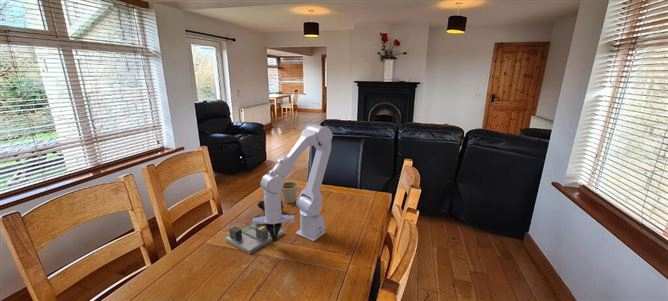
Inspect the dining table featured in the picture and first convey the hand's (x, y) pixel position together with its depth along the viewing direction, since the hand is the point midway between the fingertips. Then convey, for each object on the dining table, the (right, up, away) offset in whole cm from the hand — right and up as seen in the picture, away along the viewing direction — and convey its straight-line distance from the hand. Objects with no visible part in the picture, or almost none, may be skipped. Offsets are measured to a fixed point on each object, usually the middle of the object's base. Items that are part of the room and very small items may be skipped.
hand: (274, 240), depth 105 cm
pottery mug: (-7, +4, +27) cm, 28 cm away
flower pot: (-1, +7, +39) cm, 40 cm away
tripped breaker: (-6, 0, +4) cm, 7 cm away
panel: (-9, -1, +7) cm, 11 cm away
